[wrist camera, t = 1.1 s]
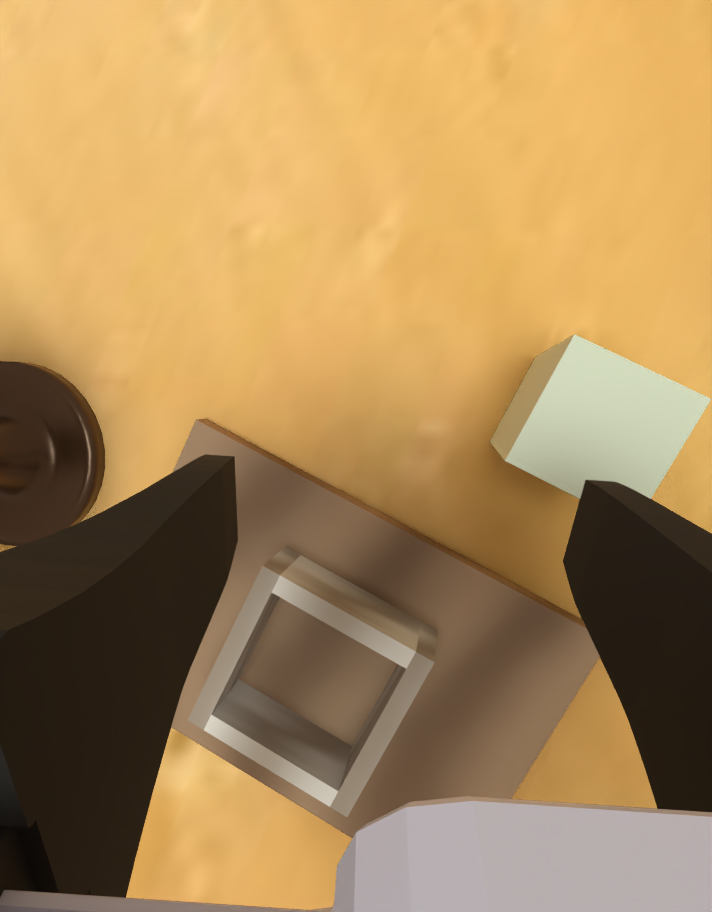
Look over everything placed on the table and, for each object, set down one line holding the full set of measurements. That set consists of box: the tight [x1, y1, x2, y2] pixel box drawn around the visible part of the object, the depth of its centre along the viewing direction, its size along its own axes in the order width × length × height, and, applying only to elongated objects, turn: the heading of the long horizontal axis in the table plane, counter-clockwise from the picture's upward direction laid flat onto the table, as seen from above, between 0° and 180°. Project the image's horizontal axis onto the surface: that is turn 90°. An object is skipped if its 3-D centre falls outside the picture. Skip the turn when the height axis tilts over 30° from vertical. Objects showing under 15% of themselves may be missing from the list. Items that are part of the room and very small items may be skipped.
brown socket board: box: [171, 419, 600, 838], centre depth 24 cm, size 20×14×4 cm
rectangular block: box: [490, 334, 711, 499], centre depth 20 cm, size 4×4×8 cm
